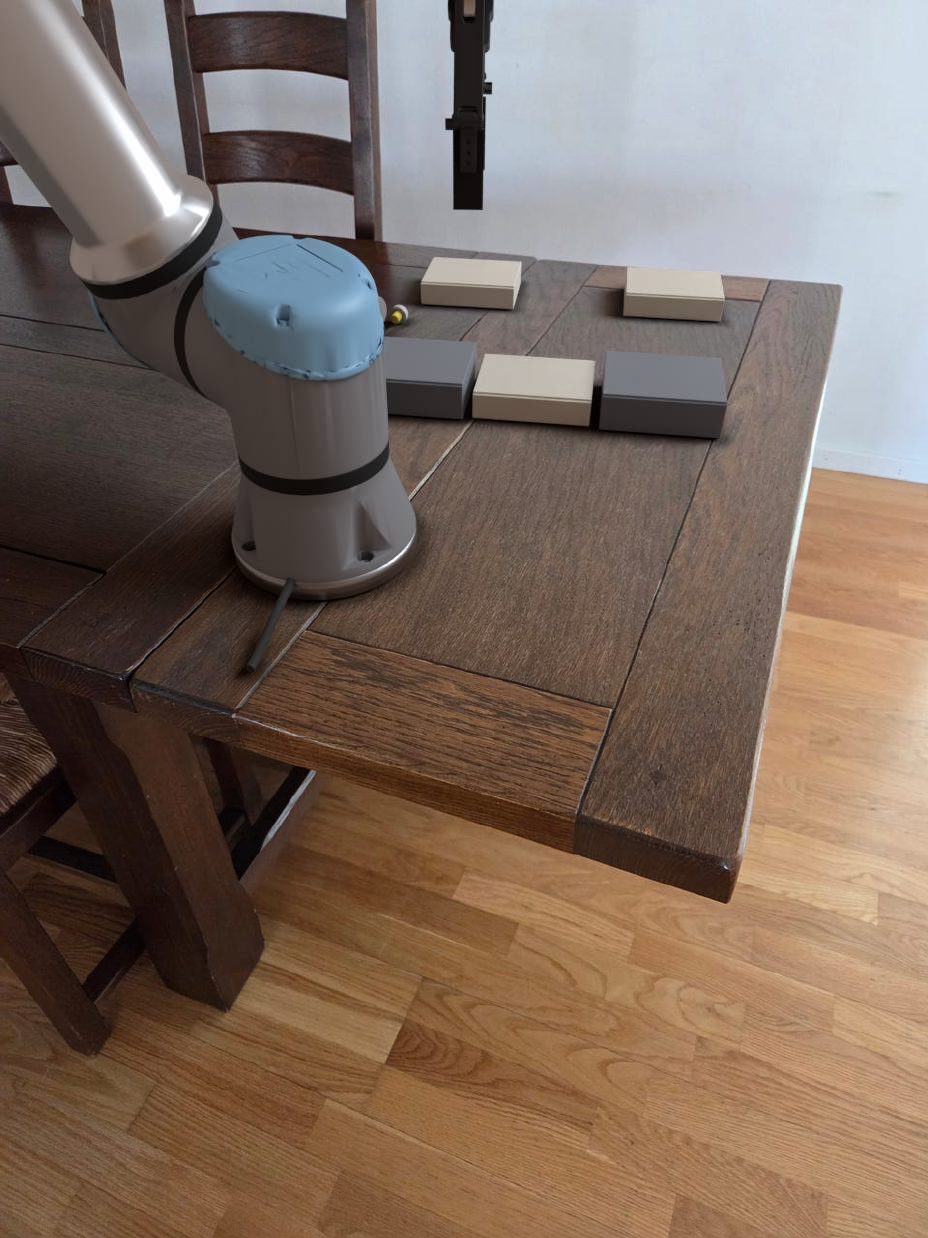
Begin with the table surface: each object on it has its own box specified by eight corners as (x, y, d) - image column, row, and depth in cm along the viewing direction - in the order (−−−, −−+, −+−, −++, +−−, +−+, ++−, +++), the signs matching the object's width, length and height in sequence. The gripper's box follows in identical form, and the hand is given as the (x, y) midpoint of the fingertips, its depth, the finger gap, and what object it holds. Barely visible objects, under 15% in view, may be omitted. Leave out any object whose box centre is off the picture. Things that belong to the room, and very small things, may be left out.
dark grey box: (719, 440, 85) (727, 403, 83) (598, 431, 87) (602, 394, 84) (713, 392, 93) (720, 357, 90) (602, 384, 94) (605, 350, 92)
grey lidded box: (462, 421, 88) (461, 385, 86) (348, 412, 90) (345, 377, 87) (476, 376, 96) (476, 341, 93) (371, 369, 98) (369, 335, 95)
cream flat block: (513, 310, 110) (513, 287, 108) (421, 305, 111) (420, 281, 109) (520, 283, 117) (521, 261, 115) (434, 278, 118) (433, 256, 116)
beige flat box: (588, 428, 87) (591, 401, 85) (472, 419, 89) (472, 392, 87) (592, 386, 94) (595, 360, 92) (484, 378, 96) (484, 353, 94)
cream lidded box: (720, 322, 107) (725, 298, 105) (623, 316, 108) (626, 293, 106) (715, 294, 114) (719, 271, 112) (624, 289, 115) (627, 266, 113)
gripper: (520, -89, 60) (509, 228, 74) (515, -100, 79) (507, 155, 93) (414, -90, 60) (423, 227, 75) (434, -100, 79) (438, 154, 93)
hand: (470, 188), depth 84 cm, fingers open, 13 cm apart
